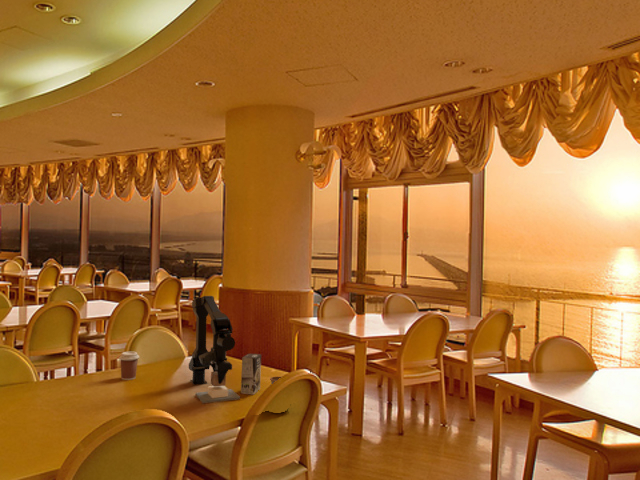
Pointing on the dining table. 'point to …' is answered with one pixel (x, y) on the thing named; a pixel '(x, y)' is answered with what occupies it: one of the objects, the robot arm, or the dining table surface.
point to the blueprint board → (208, 399)
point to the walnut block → (215, 379)
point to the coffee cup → (128, 365)
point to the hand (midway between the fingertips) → (218, 381)
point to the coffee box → (251, 373)
